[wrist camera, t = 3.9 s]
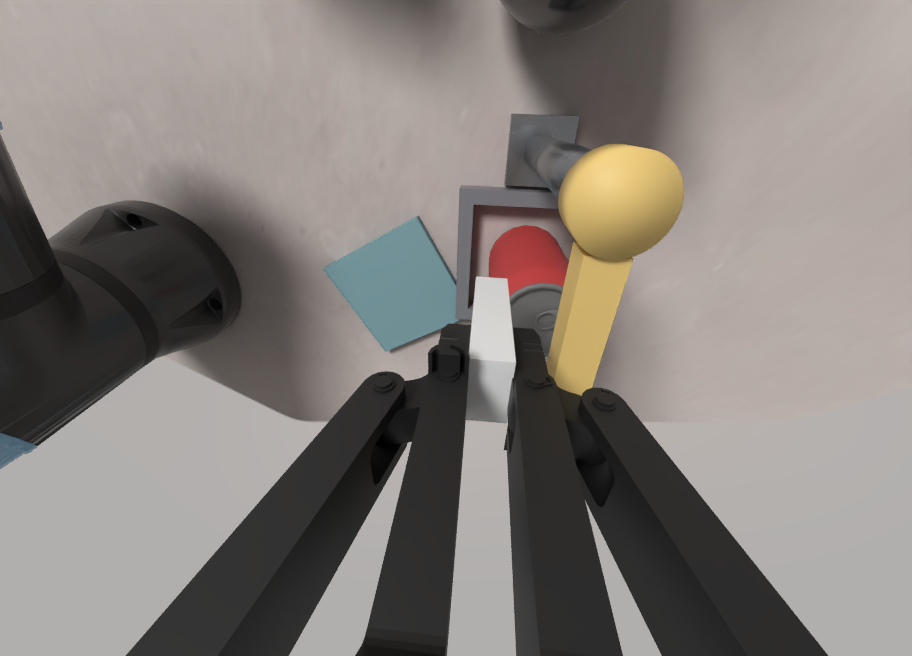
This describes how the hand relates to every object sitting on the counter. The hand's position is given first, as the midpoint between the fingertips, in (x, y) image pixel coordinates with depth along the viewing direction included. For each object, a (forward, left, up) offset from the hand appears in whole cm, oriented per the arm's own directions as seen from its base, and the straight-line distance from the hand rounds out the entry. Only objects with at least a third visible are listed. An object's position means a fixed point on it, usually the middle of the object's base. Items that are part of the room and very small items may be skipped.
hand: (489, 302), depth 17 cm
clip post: (+6, +3, -16) cm, 17 cm away
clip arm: (+3, -2, 0) cm, 4 cm away
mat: (-11, -2, -16) cm, 20 cm away
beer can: (+1, -5, -16) cm, 17 cm away
